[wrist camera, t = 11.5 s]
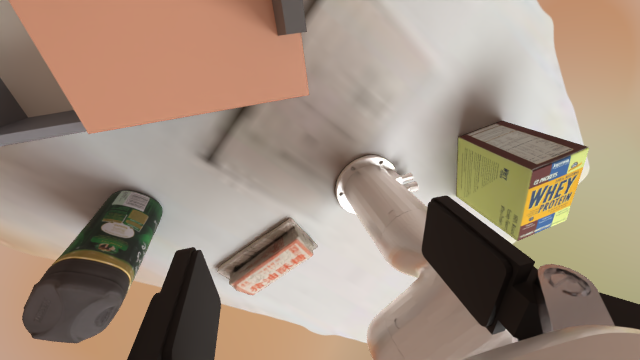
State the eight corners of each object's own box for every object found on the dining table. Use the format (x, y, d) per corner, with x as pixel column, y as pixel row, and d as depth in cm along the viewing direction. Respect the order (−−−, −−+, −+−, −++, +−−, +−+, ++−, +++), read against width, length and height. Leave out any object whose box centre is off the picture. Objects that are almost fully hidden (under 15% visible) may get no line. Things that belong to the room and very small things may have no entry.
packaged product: (294, 230, 46) (322, 259, 51) (290, 214, 50) (317, 242, 55) (214, 285, 47) (250, 308, 52) (216, 266, 51) (250, 288, 56)
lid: (275, -143, 20) (287, -220, 14) (307, 93, 29) (323, 106, 23) (-63, -136, 16) (-236, -235, 11) (93, 130, 26) (48, 158, 20)
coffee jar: (147, 243, 44) (94, 355, 29) (93, 227, 41) (-2, 346, 25) (172, 201, 42) (129, 298, 26) (117, 180, 38) (27, 279, 22)
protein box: (455, 197, 59) (517, 242, 45) (457, 136, 51) (532, 170, 37) (495, 181, 60) (567, 221, 46) (503, 119, 52) (592, 146, 38)
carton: (152, -80, 27) (110, -136, 18) (209, 94, 36) (198, 111, 27) (-105, -66, 23) (-304, -127, 15) (30, 124, 32) (-46, 154, 24)
